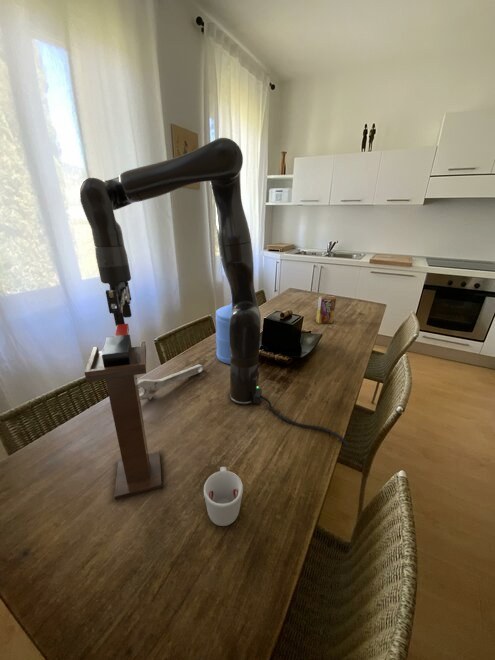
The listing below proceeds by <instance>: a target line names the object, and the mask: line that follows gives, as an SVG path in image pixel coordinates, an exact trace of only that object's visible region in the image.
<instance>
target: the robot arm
mask: <svg viewBox="0 0 495 660" xmlns="http://www.w3.org/2000/svg"><path fill="white" fill-rule="evenodd" d="M243 155H244V154H243V152H242V150H241V147H240V145H238V144H237V142H236V141H235V140H233V139H231V138H228V137H218V138H216V139H213V140H212V141H210V142H208V143H206V144H204V145H203V146H201V147H198V148H196V149H194V150H192V151H189V152H187V153H183V154H182V155H179V156H177V157H173V158H170V159H169V158H168V159H166V160H163V161H158V162H154V163H151V164H146V165H143V166H139V167H135V168H132V169H128V170H125V171H123V172H121V174H120V175H119V176H117V177H113V178H111V179H107V180H102V179H100V178H97V177H86V178H84V180H82V181H81V182H80V185H79V190H78V192H79V193H78V194H79V195H78V196H79V200H80V204H81V208H82V209H83V213H84V215H85V217H86V220H87V222H88V224H89V226H90V229H91V234H92V235H91V236H92V240H93V245H94V251H95V259H96V264H97V269H98V273H99V278H100V282H101V283H102V284H108V285H109V289H105V296H106V301H107V308H108V312H109V314H112V315H113V319H114V325H115V327H117V325H118V324H126V323H125V318H131V317H132V310H131V301H132V296H131V295H132V294H131V291H130V285H129V282H130V281H131V280H132V276H131V275H132V274H131V270H130V264H129V258H128V253H127V250H126V247H125V241H124V236H123V230H122V227H121V225H120V224H119V222H117V220H116V216H115V212H114V211H116V210H120V209H122V208H125V207H127V206H130V205H132V204H135V203H139V202H143V201H147V200H151V199H154V198H157V197H160V196H164V195H166V194H169V193H171V192H173V191H177V190H179V189H181V188H184V187H187V186H190V185H193V184H198V183H203V182H204V183H205V182H209V183H210V188H211V192H212V195H213V198H214V199H213V200H214V205H215V221H216V223H215V225H216V236H217V237H216V238H217V245H218V251H219V257H220V261H221V262H220V263H221V265H222V268H223V272H224V274H225V278H226V279H227V282H228V285H229V288H230V298H231V297H232V314H231V318H230V326H229V333H230V364H229V374H230V375H229V377H230V378H229V398H230V400H231V401H232V402H233V403H235V404H237V405H241V406H242V405H243V406H247V405H252V404H253V405H254V404H256V405H257V404H258V405H260V403H261V399H262V400H264V402H266V403H267V404H268V407H269V409H270V410H271V412H273V414H274V415H276V416H277V417H278V418H280V420H283V421H285V422H287V423H289V424H292V425H295V426H297V427H301V428H307V429H308V428H309V429H314V430H320V431H323V432H326V433H328V434H331V435H332V436H335V437H336V438H338V439H339V440H340V441H341V442H342V444H343V445H344V446H345V447H348V446H349V444H348V442H347V441H346V440H345V439H344V438H343V437H342V436H341V435H340V434H339V433H337V432H336V431H333V430H331V429H327V428H325V427H323V426H319V425H312V424H305V423H300V422H297V421H294V420H291V419H289V418H286V417H285V416H283V415H281V414H280V413H278V412H277V410H275V409H274V407H273V406H272V403H271V401H270V400H269V399H268V398H267V397H266V396H263V394H262V393H263V389H262V388H259V381H260V370H259V360H260V343H261V328H262V327H261V326H262V325H261V319H262V318H261V311H260V307H259V304H258V299H257V296H256V290H255V282H254V281H255V280H254V279H255V277H254V276H255V275H254V274H255V271H254V269H255V266H254V252H253V251H254V250H253V243H252V237H251V232H250V228H249V223H248V219H247V217H246V213H245V209H244V206H243V201H242V200H243V199H242V190H241V189H242V188H241V171H242V168H243V164H244V156H243Z"/></svg>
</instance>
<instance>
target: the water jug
mask: <svg viewBox="0 0 495 660" xmlns="http://www.w3.org/2000/svg"><path fill="white" fill-rule="evenodd" d="M231 314H232V297H231V296H230V304H227V305H224V306H222V307H219V308H217V309H216V311H215V341H216V352H215V353H216V355H215V356H216V358H217V359H218V360H219V361H220V362H222V363H223V364H227V365H230V333H229V326H230V318H231Z"/></svg>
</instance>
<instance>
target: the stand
mask: <svg viewBox="0 0 495 660" xmlns="http://www.w3.org/2000/svg"><path fill="white" fill-rule="evenodd" d="M146 345H147V344H146V341H141V342H140V346H139V345H138V346H132V349H131V360H130V364H129V365H121V366H114V367H106V368H104V364H103V359H102V352H103V350H99V346H93V347H92V350H91V353H90V356H89V358H88V361H87V364H86V366H85V369H84V371H83V372H84V376H85V377H84V378H85V380H86V382H87V383H88V382H95V381H103V380H105V384H106V389H107V394H108V399H109V403H110V407H111V413H112V416H113V422H114V427H115V432H116V438H117V442H118V448H119V451H120V456H121V457H120V458H121V459H120V460H118V461H117V467H116V478H115V486H114V500H119V499H123V498H127V497H131V496H135V495H139V494H142V493H146V492H150V491H154V490H158V489H162V487H163V483H162V467H161V465H162V464H161V452H160V451H156V452H152V453H149V447H148V443H147V435H146V430H145V423H144V417H143V416H144V415H143V410H142V409H143V408H142V402H141V400H140V396H139V394H140V388H139V389H138V383H137V381H138V377H137V376H138V375H144V374H145V375H146V374H147V346H146Z"/></svg>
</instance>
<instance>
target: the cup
mask: <svg viewBox="0 0 495 660" xmlns="http://www.w3.org/2000/svg"><path fill="white" fill-rule="evenodd" d="M243 493H244V485H243V482H242V480H241V478H240V476H239V475H237V474H236V473H234V472H233V471H229V470H228V469H227V466H220V468H219V471H216V472H214V473H213V474H211V475H210V476H208V478H207V479H206V481H205V482H204V485H203V496H204V502H205V507H206V512H207V515H208V518H209V519H210V521H211V522H212V523H213V524H215V525H216V526H220V527H226V526H229V525H232V524H233V523H234V522H235V521H236V520H237V518H238V516H239V514H240V509H241V505H242V504H241V503H242V498H243Z"/></svg>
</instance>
